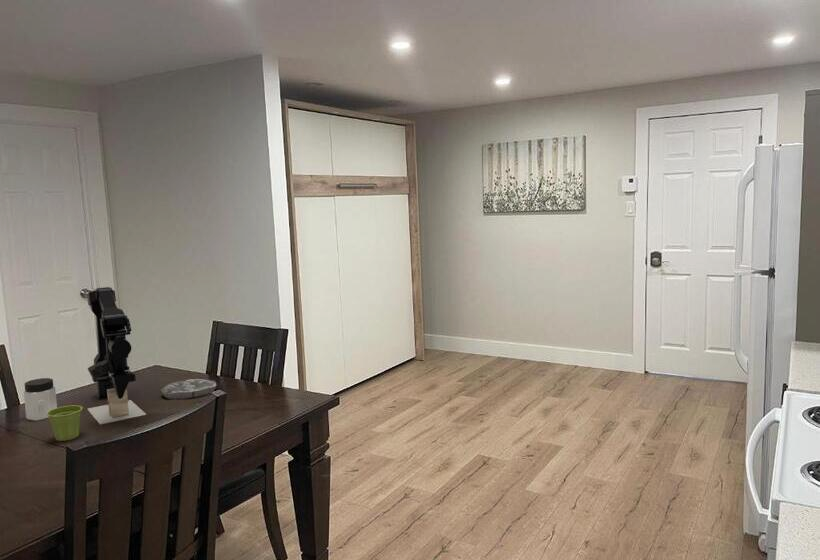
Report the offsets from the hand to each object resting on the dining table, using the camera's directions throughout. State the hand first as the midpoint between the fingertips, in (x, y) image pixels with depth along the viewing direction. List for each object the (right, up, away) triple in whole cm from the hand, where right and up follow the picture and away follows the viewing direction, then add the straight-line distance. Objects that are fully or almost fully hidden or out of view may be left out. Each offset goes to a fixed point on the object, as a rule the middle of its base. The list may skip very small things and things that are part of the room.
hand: (120, 398), depth 198 cm
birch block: (-2, -6, +4) cm, 7 cm away
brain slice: (+12, -4, +28) cm, 30 cm away
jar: (-28, -7, +5) cm, 30 cm away
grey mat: (-5, -6, +7) cm, 10 cm away
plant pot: (-9, -9, -15) cm, 20 cm away
